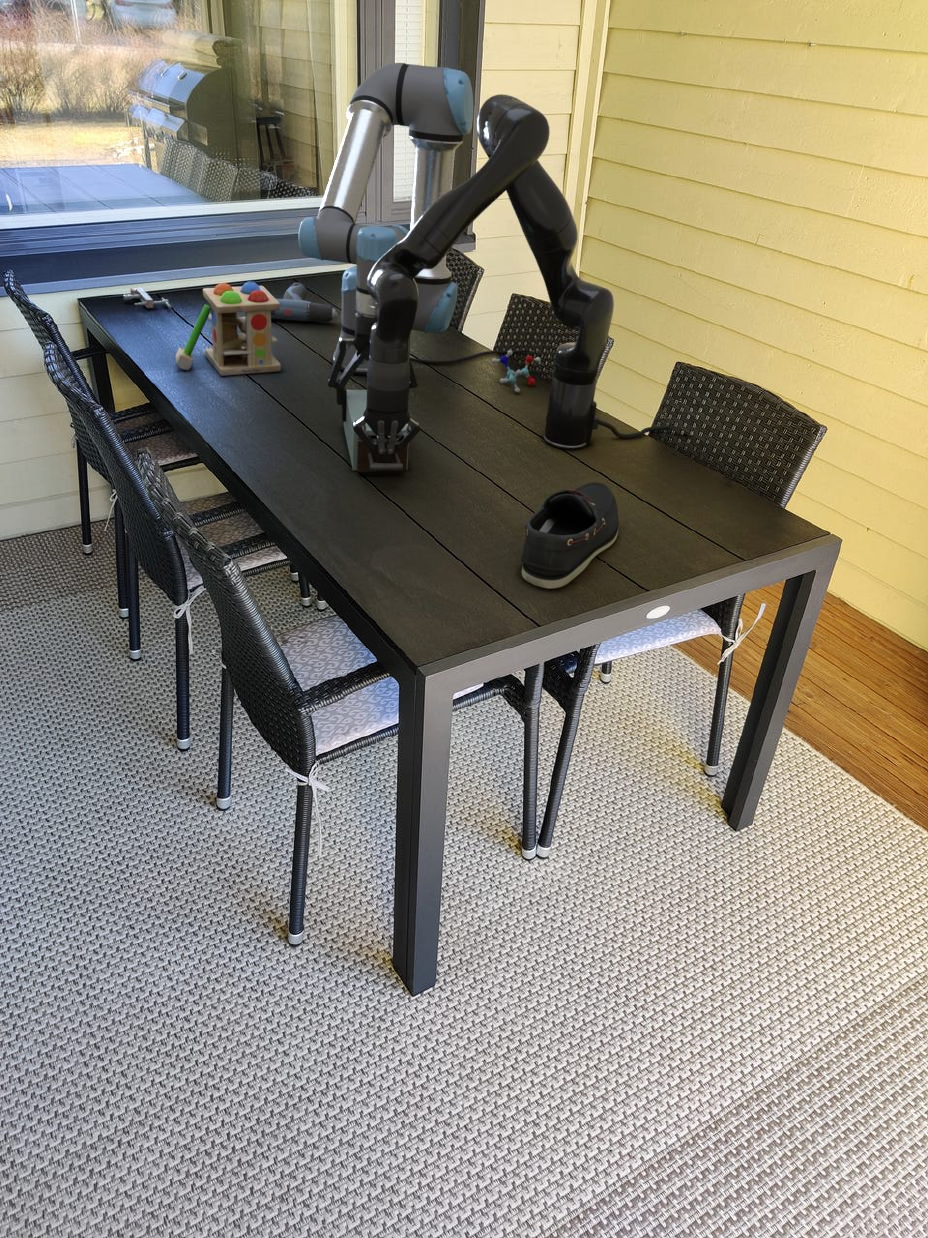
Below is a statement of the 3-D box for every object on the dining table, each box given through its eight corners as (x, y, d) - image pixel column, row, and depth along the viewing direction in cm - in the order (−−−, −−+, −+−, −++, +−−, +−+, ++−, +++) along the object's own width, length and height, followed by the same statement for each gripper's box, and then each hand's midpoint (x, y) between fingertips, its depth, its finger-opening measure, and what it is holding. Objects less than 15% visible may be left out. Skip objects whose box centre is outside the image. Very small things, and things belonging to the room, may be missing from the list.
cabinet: (407, 470, 192) (409, 430, 188) (352, 470, 190) (353, 430, 186) (394, 427, 209) (395, 389, 204) (343, 427, 207) (344, 389, 202)
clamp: (119, 288, 264) (156, 285, 268) (120, 296, 265) (157, 294, 269) (133, 305, 253) (172, 302, 258) (134, 313, 254) (173, 310, 259)
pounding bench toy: (183, 379, 220) (176, 299, 210) (169, 357, 231) (162, 280, 221) (282, 371, 230) (280, 294, 220) (264, 350, 240) (262, 276, 230)
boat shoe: (641, 524, 182) (650, 473, 177) (559, 595, 158) (566, 538, 153) (580, 505, 188) (586, 455, 182) (491, 571, 164) (495, 515, 158)
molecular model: (536, 384, 226) (523, 342, 225) (499, 398, 230) (486, 357, 228) (548, 383, 237) (536, 343, 235) (513, 396, 240) (500, 357, 239)
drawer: (410, 485, 185) (412, 454, 181) (360, 486, 183) (361, 455, 179) (393, 430, 205) (395, 401, 201) (348, 430, 203) (348, 401, 199)
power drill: (344, 304, 276) (335, 327, 259) (277, 298, 275) (264, 321, 258) (344, 285, 273) (335, 306, 256) (277, 279, 272) (264, 300, 255)
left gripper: (315, 317, 185) (316, 426, 197) (436, 320, 190) (429, 426, 202) (313, 304, 191) (313, 411, 203) (430, 308, 196) (424, 412, 208)
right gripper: (353, 388, 170) (351, 478, 180) (428, 389, 173) (422, 478, 183) (349, 373, 176) (347, 461, 186) (421, 374, 179) (416, 461, 189)
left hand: (371, 419), depth 203 cm, fingers closed on cabinet, 11 cm apart
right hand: (384, 469), depth 184 cm, fingers closed
